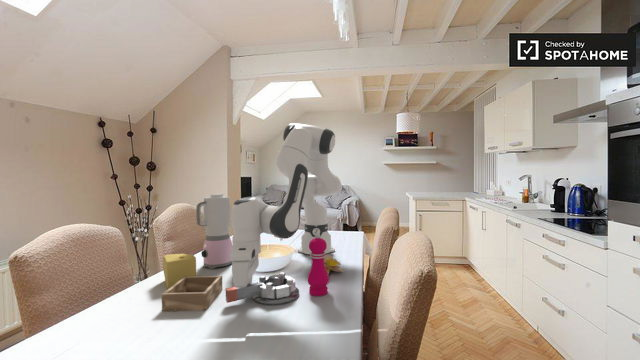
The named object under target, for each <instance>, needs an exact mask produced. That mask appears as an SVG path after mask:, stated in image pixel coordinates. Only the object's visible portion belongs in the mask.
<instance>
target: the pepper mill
mask: <svg viewBox="0 0 640 360" xmlns="http://www.w3.org/2000/svg"><path fill="white" fill-rule="evenodd" d="M326 248H327V244H326V241H325V240H324V239H322V238H320V234H318V233H317V234H316V235H315V238H314V239H312V240H311V241H310V243H309V249H310V250H311V255H310V258H311V261H312V262H311V268H310V270H309V273H308V275H307V283H308V285H309V287H308V292H309V294H310V295H311V296H312V297H322V296H325V295H327V294H328V293H329V289H328V288H329V287H328V284H329V281H330V278H329V277H330V276H329V274H328V273H327V271H326V269H325V266H324V257H325V255H326V254H325V252H324V251H325V250H326Z"/></svg>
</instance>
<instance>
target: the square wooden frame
mask: <svg viewBox="0 0 640 360" xmlns="http://www.w3.org/2000/svg"><path fill="white" fill-rule="evenodd" d="M222 291H223V275H200V276H198V275H196V276H193V277H183V278H182V279H181V280H180V281H178V282H177V283H176V284H174V285H173V286H172V287H171V288H169V289H167V290H165V291H164V292H162V293H161V311H162V312H179V311H180V312H185V311H207V310H208V309H209V308H210V307H211V305H212V304H213V303H214V302H215V300H216V299H217V297H218V296H219V295H220V294H221V293H222Z"/></svg>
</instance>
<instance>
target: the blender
mask: <svg viewBox="0 0 640 360" xmlns="http://www.w3.org/2000/svg"><path fill="white" fill-rule="evenodd" d="M202 207H203V221H202V211H201V208H202ZM195 210H196V224H197V226H199V227H204V229H205V235H206V236H205V240H204V242H203V244H202V245H203V247H202V249H203V250H201V257H202V258H203V266H204V267H206V268H209V270H216V268H222V267H226V266H229V265H232V262H233V261H230V253H231V251H232V238H231V237H230V227H231V222H232V207H231V197H230V196H224V194H223V193H212V194H210V196H206V197H204V198H203V201H200V202H199V203H197V205H196V208H195Z"/></svg>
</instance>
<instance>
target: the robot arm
mask: <svg viewBox="0 0 640 360" xmlns="http://www.w3.org/2000/svg"><path fill="white" fill-rule="evenodd" d="M282 138H283V143H282V145H281V147H280V149H279V152H278V154H277V157H276V162H275V163H276V167H277V169H278V171H279V172H280V173H281V174H282V175H283V176H285V177H286V178H288V186H287V190H286V194H285V198H284V201H283V203H282V204H280V206H279V205H278V206H277V205H270V204H268V203H264V202H263V201H261V200H259V199H258V198H257V197H255V196H246V197H242V198H238V199H236V200H235V201H234V203H233V205H232V207H231V228H232V231H233V233H232V238H231V241H232V251H231V253H230V261H233V262H232V264H231V273H232V275H231V276H232V282H233V283H232V284H233V287H236V288H241V287H246V286H247V285H250V284H253V283H252V281H253V276H254V274H255V273H256V271H257V269H258V267H259V266H260V265H259V263H260V262H259V261H260V260H259V258H260V257H259V254H261V252H262V250H261V249H262V248H261V247H262V246H261V242H262V241H261V235H262V234H267V235H271V236H275V237H277V238H281V239H284V240H285V239H289V238H291V237H293V236H294V235H295V233H296V232H297V231H298V230H299V227H300V223H301V212H302V206H303V209H304V219H305V220H304V226H303V228H304V230H303V231H304V232H303V234H302V235H301V246H300V247H299V248H298V249H297V252H298V253H301V254H306V255H310V256H311V250H310V249H309V243H310V241H311V240H312V239H314V238H315V235H316V234H317V233H318V234H320V238H322V239H324V240H325V241H326V244H327V248H326V250H325V251H324V252H325V255H328V254H330V253H334V252H335V251H336V248H335V247H333V246H332V235H331V233H330V232H329V231H328V230H329V224H328V211H327V210H328V209H327V208H326V206H325V205H324V204H323V203H320V202H317V201H316V200H315V197H332V196H335V195H338V194H339V192H340V191H341V189H342V182H341V179H340V178H339V176H337V175H335V174H334V173H333V172H332V171H331V170H330V168H329V164H328V163H329V160H328V158H329V157H328V156H329V154H330V153H332V152H333V149H334V148H335V145H336V134H335V132H334V131H333V130H332V129H331V130H330V129H329V128H324V127H321V126H318V125H313V124H303V123H298V122H296V123H295V122H292V123H289V124H288V125H287V126H285V127H284V130H283V137H282Z"/></svg>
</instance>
